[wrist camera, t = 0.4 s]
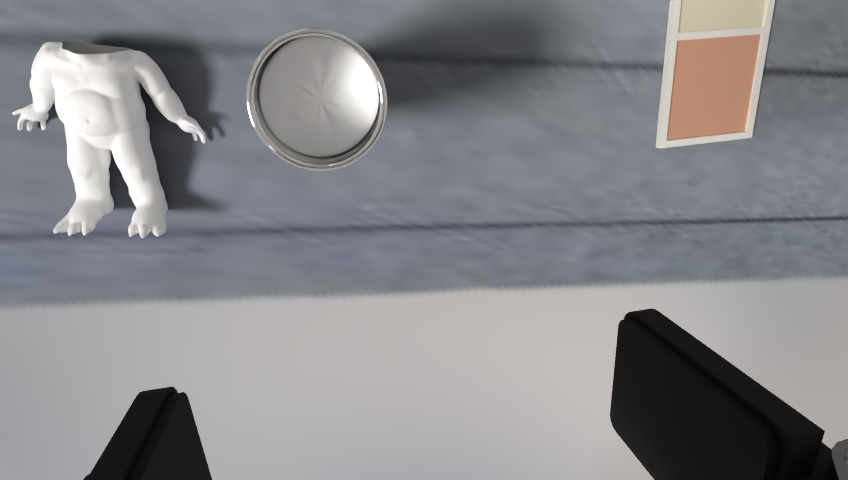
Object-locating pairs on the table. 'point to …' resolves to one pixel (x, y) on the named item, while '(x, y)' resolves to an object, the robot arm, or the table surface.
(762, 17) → the board
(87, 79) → the toy creature
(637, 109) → the table surface
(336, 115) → the beer glass
